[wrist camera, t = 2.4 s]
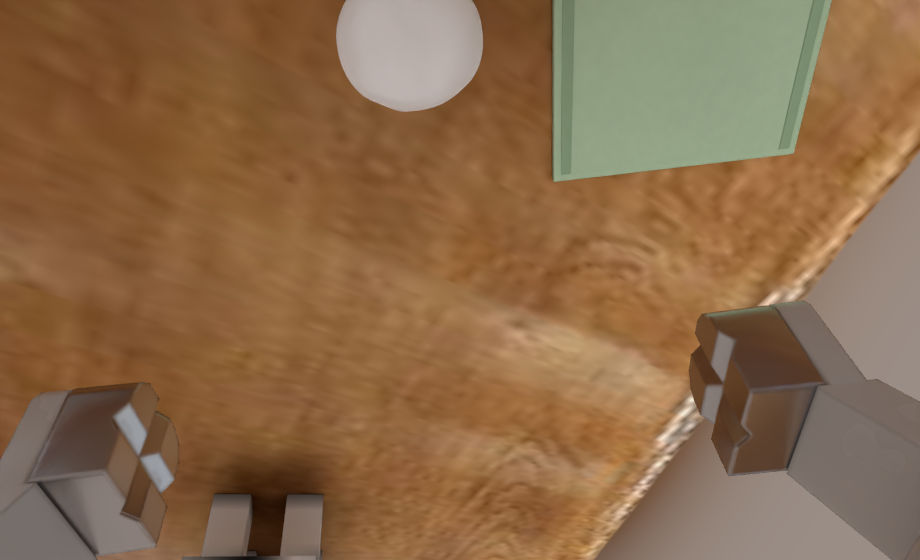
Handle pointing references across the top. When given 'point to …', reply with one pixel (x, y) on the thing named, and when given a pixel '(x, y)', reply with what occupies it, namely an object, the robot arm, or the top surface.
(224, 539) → the toy llama
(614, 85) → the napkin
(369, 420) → the top surface
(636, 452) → the top surface
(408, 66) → the milkshake
